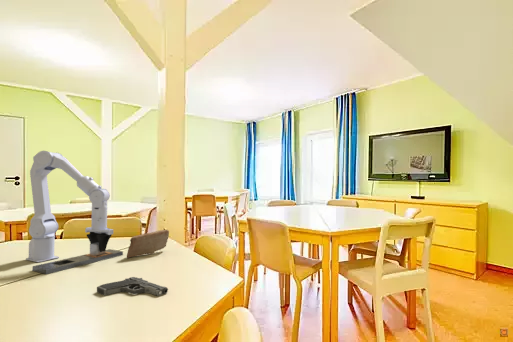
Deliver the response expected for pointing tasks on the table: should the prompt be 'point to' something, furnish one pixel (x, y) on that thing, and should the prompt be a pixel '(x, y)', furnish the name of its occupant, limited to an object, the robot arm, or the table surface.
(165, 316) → the table surface
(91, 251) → the grey rectangular block
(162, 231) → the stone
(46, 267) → the rail
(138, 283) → the handgun
